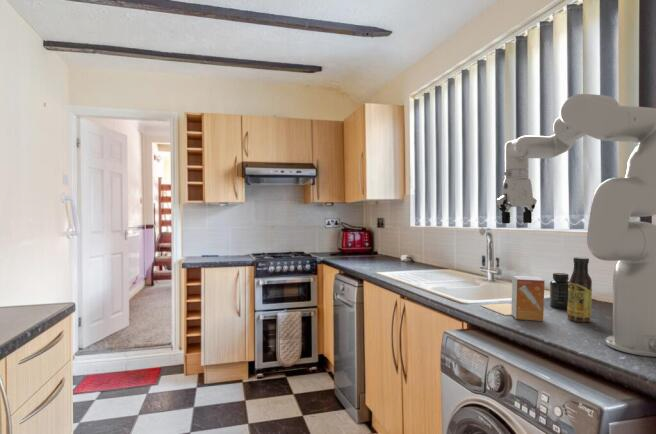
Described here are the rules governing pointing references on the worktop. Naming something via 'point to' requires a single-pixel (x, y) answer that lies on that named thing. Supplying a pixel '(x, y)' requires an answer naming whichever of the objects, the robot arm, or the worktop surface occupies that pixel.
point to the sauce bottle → (580, 292)
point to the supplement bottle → (559, 291)
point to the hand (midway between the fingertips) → (516, 223)
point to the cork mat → (500, 308)
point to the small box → (528, 297)
